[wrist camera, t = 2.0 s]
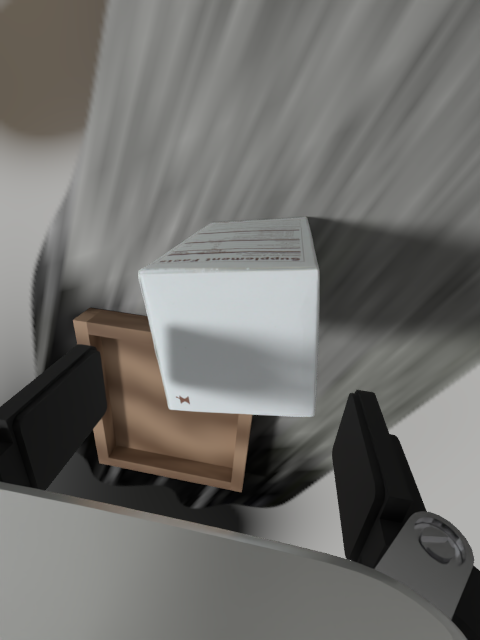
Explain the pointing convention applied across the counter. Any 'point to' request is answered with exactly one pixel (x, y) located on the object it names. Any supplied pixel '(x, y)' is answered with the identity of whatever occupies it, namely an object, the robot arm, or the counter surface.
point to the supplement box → (238, 318)
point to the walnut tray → (157, 411)
